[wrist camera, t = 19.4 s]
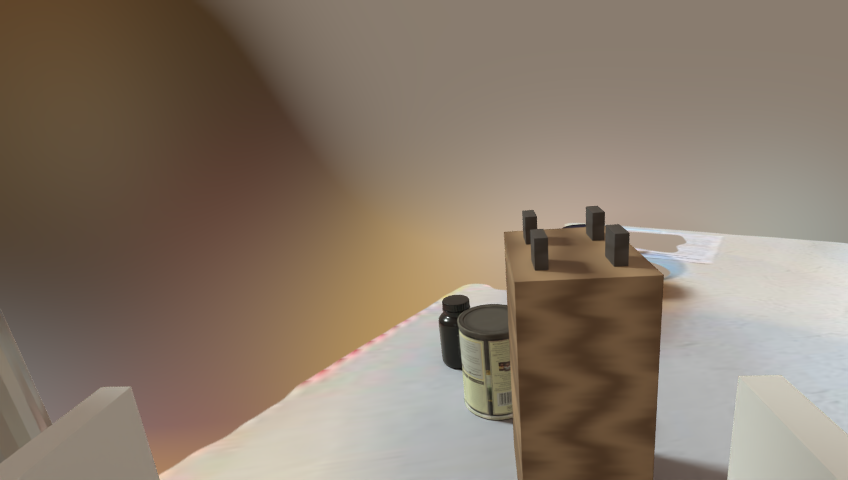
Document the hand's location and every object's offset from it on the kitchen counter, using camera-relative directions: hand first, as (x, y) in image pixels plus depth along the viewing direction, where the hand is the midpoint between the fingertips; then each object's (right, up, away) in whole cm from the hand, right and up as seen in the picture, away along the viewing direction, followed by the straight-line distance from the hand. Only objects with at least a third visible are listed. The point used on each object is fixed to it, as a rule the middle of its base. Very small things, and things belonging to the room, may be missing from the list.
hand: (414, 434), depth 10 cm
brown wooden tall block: (+18, -25, +44) cm, 54 cm away
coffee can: (+12, -21, +62) cm, 67 cm away
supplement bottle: (+7, -18, +75) cm, 77 cm away
